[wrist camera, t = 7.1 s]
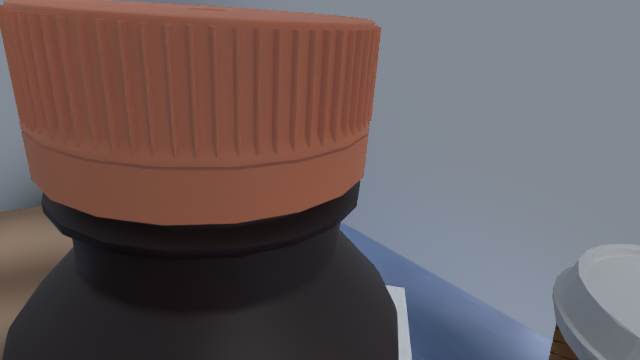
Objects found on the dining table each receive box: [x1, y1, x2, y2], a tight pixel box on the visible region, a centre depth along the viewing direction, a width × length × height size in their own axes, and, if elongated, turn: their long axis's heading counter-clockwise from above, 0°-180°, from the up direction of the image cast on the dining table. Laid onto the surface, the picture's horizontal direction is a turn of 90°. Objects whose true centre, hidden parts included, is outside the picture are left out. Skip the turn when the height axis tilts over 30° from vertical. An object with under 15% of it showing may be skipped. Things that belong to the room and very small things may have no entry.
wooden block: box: [0, 206, 73, 360], centre depth 24 cm, size 18×11×6 cm, turn 33°
